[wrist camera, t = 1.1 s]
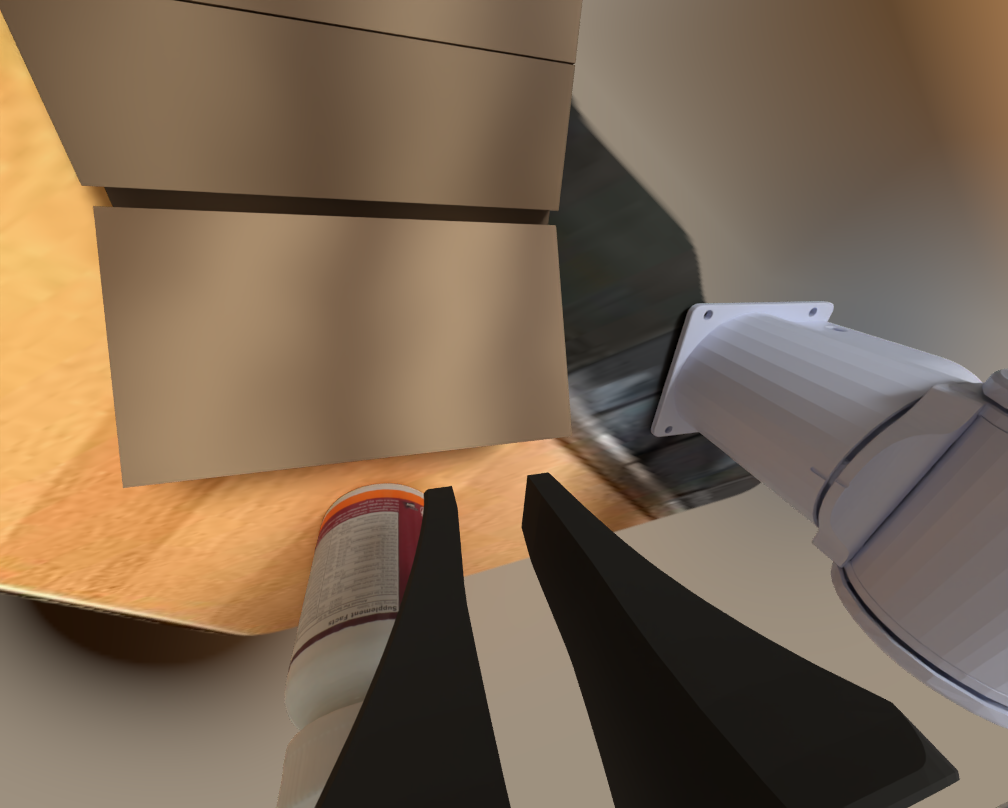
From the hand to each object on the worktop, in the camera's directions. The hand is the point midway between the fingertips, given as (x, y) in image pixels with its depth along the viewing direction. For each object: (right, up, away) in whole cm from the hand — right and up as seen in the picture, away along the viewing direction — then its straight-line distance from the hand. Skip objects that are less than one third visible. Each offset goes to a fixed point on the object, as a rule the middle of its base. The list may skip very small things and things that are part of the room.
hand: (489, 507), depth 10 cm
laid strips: (-4, +13, +1) cm, 14 cm away
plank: (-4, +5, +3) cm, 7 cm away
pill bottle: (-6, -4, +11) cm, 13 cm away
